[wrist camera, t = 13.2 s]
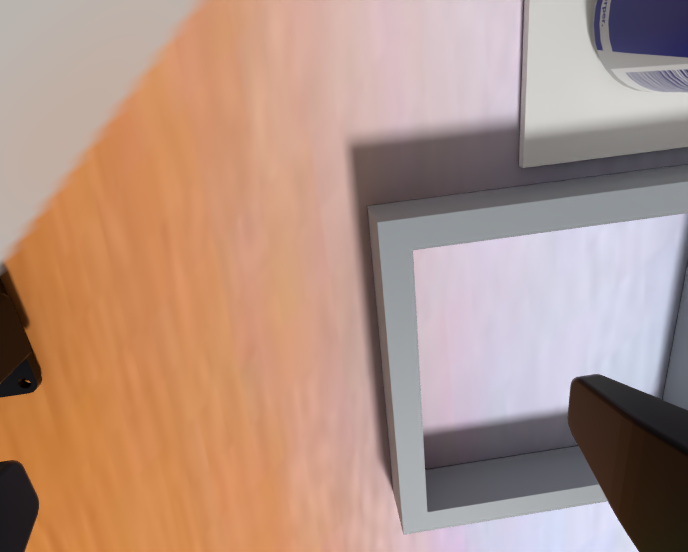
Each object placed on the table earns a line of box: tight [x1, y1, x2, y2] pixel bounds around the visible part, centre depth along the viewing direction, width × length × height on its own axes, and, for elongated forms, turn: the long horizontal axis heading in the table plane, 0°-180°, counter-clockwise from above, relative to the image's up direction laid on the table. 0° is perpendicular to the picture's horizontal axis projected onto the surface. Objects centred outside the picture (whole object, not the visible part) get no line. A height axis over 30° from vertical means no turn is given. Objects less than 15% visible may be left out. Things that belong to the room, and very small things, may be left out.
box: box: [367, 164, 688, 535], centre depth 21 cm, size 15×15×2 cm
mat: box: [519, 0, 688, 168], centre depth 17 cm, size 10×10×1 cm
